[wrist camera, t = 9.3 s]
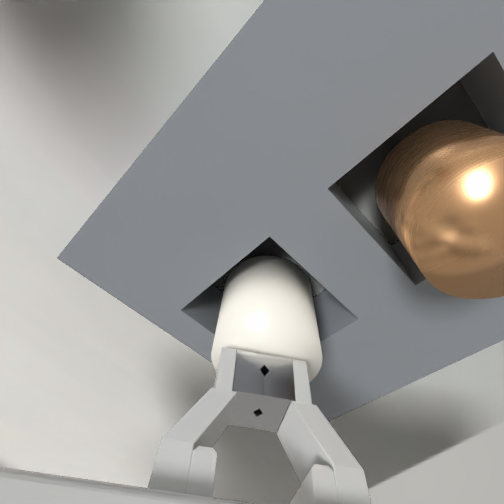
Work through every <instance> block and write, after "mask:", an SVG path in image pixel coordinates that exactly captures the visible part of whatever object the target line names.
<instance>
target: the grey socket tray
mask: <svg viewBox="0 0 504 504" xmlns="http://www.w3.org/2000/svg"><path fill="white" fill-rule="evenodd" d="M458 80H460V82H461V84H462V85H463V87H464V89H465V90H466V92H467V94H468V95H469V97H470V98H471V100H472V102H473V103H474V105H475V107H476V108H477V110H478V112H479V113H480V115H481V117H482V118H483V120H484V121H485V123H486V125H487V126H488V128H489V129H491V130H494V131H496V132H499V133H502V134H504V0H264V1H263V3H262V4H261V5H260V6H259V8H258V9H257V10H256V11H255V13H254V14H253V15H252V16H251V18H250V19H249V20H248V21H247V23H246V24H245V25H244V26H243V28H242V29H241V30H240V31H239V33H238V34H237V35H236V36H235V37H234V39H233V40H232V41H231V42H230V44H229V45H228V46H227V47H226V49H225V50H224V51H223V52H222V54H221V55H220V56H219V57H218V59H217V60H216V61H215V62H214V64H213V65H212V66H211V67H210V69H209V70H208V71H207V72H206V73H205V75H204V76H203V77H202V78H201V80H200V81H199V82H198V83H197V85H196V86H195V87H194V88H193V90H192V91H191V92H190V93H189V95H188V96H187V97H186V98H185V100H184V101H183V102H182V103H181V105H180V106H179V107H178V108H177V109H176V111H175V112H174V113H173V114H172V116H171V117H170V118H169V119H168V121H167V122H166V123H165V124H164V126H163V127H162V128H161V129H160V131H159V132H158V133H157V134H156V136H155V137H154V138H153V139H152V141H151V142H150V143H149V144H148V146H147V147H146V148H145V149H144V150H143V152H142V153H141V154H140V155H139V157H138V158H137V159H136V160H135V162H134V163H133V164H132V165H131V167H130V168H129V169H128V170H127V172H126V173H125V174H124V175H123V177H122V178H121V179H120V180H119V182H118V183H117V184H116V185H115V186H114V188H113V189H112V190H111V191H110V193H109V194H108V195H107V196H106V198H105V199H104V200H103V201H102V203H101V204H100V205H99V206H98V208H97V209H96V210H95V211H94V213H93V214H92V215H91V216H90V218H89V219H88V220H87V221H86V222H85V224H84V225H83V226H82V227H81V229H80V230H79V231H78V232H77V234H76V235H75V236H74V237H73V239H72V240H71V241H70V242H69V244H68V245H67V246H66V247H65V249H64V250H63V251H62V252H61V254H60V255H59V256H58V257H57V259H59V260H60V261H62V262H63V263H65V264H66V265H68V266H69V267H71V268H72V269H74V270H75V271H77V272H78V273H80V274H81V275H83V276H84V277H86V278H87V279H89V280H90V281H91V282H93V283H94V284H96V285H97V286H99V287H100V288H102V289H103V290H105V291H106V292H108V293H109V294H111V295H112V296H114V297H115V298H117V299H118V300H120V301H121V302H123V303H124V304H126V305H127V306H129V307H130V308H132V309H133V310H134V311H136V312H137V313H139V314H140V315H142V316H143V317H145V318H146V319H148V320H149V321H151V322H152V323H154V324H155V325H157V326H158V327H160V328H161V329H163V330H164V331H166V332H167V333H169V334H170V335H172V336H173V337H175V338H176V339H178V340H179V341H180V342H182V343H183V344H185V345H186V346H188V347H189V348H191V349H192V350H194V351H195V352H197V353H198V354H200V355H201V356H203V357H204V358H206V359H207V360H209V361H210V362H212V360H211V352H212V347H213V342H214V337H215V332H216V327H217V322H218V317H219V312H220V307H221V302H222V297H223V292H222V291H221V290H220V289H219V288H217V287H216V286H215V285H213V283H214V282H215V281H216V280H218V279H219V278H220V277H221V276H222V275H224V274H225V273H226V272H227V271H228V270H230V269H231V268H232V267H233V266H235V265H236V264H237V263H238V262H239V261H241V260H242V259H243V258H244V257H245V256H247V255H248V254H249V253H250V252H251V251H253V250H254V249H255V248H256V247H258V246H259V245H260V244H261V243H262V242H264V241H265V240H266V239H267V238H268V237H271V238H272V239H273V240H274V241H275V242H276V243H277V244H278V245H279V246H280V247H282V248H283V249H284V250H285V251H286V252H287V253H288V254H289V255H290V256H291V257H292V258H293V259H295V260H296V261H297V262H298V263H299V264H300V265H301V266H302V267H303V268H304V269H305V270H306V271H307V272H309V273H310V274H311V275H312V276H313V277H314V278H315V279H316V280H317V281H318V282H319V283H320V284H321V285H323V286H324V287H325V288H326V290H324V291H323V292H321V293H320V294H318V295H317V296H315V297H314V298H313V302H314V308H315V314H316V320H317V326H318V332H319V338H320V344H321V350H322V365H321V368H320V370H319V372H318V374H317V375H316V377H315V378H314V379H313V380H312V381H310V382H309V384H310V391H311V399H312V404H313V405H317V407H318V408H319V409H320V411H321V412H322V414H323V415H324V416H325V418H326V419H327V420H328V421H330V420H332V419H334V418H336V417H339V416H341V415H343V414H345V413H347V412H349V411H352V410H354V409H356V408H358V407H360V406H362V405H364V404H367V403H369V402H371V401H373V400H375V399H377V398H380V397H382V396H384V395H386V394H388V393H390V392H392V391H395V390H397V389H399V388H401V387H403V386H405V385H408V384H410V383H412V382H414V381H416V380H418V379H420V378H423V377H425V376H427V375H429V374H431V373H433V372H436V371H438V370H440V369H442V368H444V367H446V366H448V365H451V364H453V363H455V362H457V361H459V360H461V359H464V358H466V357H468V356H470V355H472V354H474V353H476V352H479V351H481V350H483V349H485V348H487V347H489V346H492V345H494V344H496V343H498V342H500V341H502V340H504V296H502V297H497V298H490V299H464V298H459V297H455V296H452V295H449V294H446V293H444V292H442V291H440V290H438V289H437V288H436V287H434V286H433V285H432V284H431V283H430V282H429V281H428V280H427V279H426V278H425V276H424V275H423V274H422V272H421V271H420V269H419V268H418V266H417V265H416V263H415V262H414V260H413V259H412V257H411V256H410V254H409V253H408V251H407V250H406V249H405V247H404V246H403V244H402V243H401V241H400V240H399V241H397V242H396V243H394V244H393V245H390V244H389V243H388V242H387V240H386V239H385V238H384V237H383V236H382V235H381V234H380V233H379V231H378V230H377V229H376V228H375V227H374V226H373V225H372V224H371V223H370V221H369V220H368V219H367V218H366V217H365V216H364V215H363V214H362V212H361V211H360V210H359V209H358V208H357V207H356V206H355V205H354V203H353V202H352V201H351V200H350V199H349V198H348V197H347V196H346V195H345V193H344V192H343V191H342V190H341V189H340V188H339V187H338V186H337V184H336V183H335V182H336V181H337V180H339V179H340V178H341V177H342V176H343V175H345V174H346V173H347V172H348V171H349V170H351V169H352V168H353V167H354V166H355V165H357V164H358V163H359V162H360V161H362V160H363V159H364V158H365V157H366V156H368V155H369V154H370V153H371V152H372V151H374V150H375V149H376V148H377V147H378V146H380V145H381V144H382V143H383V142H385V141H386V140H387V139H388V138H389V137H391V136H392V135H393V134H394V133H395V132H397V131H398V130H399V129H400V128H401V127H403V126H404V125H405V124H406V123H407V122H409V121H410V120H411V119H412V118H414V117H415V116H416V115H417V114H418V113H420V112H421V111H422V110H423V109H424V108H426V107H427V106H428V105H429V104H430V103H432V102H433V101H434V100H435V99H437V98H438V97H439V96H440V95H441V94H443V93H444V92H445V91H446V90H447V89H449V88H450V87H451V86H452V85H453V84H455V83H456V82H457V81H458Z"/></svg>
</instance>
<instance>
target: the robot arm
mask: <svg viewBox="0 0 504 504" xmlns="http://www.w3.org/2000/svg"><path fill="white" fill-rule="evenodd" d="M228 425H232V426H240V427H247V428H254V429H259V430H265V431H270V432H275V433H277V436H278V438H279V440H280V442H281V444H282V446H283V448H284V450H285V452H286V454H287V456H288V458H289V460H290V462H291V464H292V466H293V468H294V471H295V473H296V475H297V477H298V479H299V481H300V483H301V486H300V487H299V489H298V491H297V492H296V494H295V495H294V497H293V499H292V500H291V502H290V503H289V504H371V500H370V495H369V491H368V486H367V482H366V478H365V473H364V470H363V469H362V467H361V466H360V464H359V463H358V462H357V460H356V459H355V458H354V456H353V455H352V453H351V452H350V451H349V449H348V448H347V447H346V445H345V444H344V442H343V441H342V440H341V438H340V437H339V436H338V434H337V433H336V431H335V430H334V429H333V427H332V426H331V425H330V423H329V422H328V420H327V419H326V418H325V416H324V415H323V414H322V412H321V411H320V409H319V408H318V407H317V405H313V404H312V399H311V391H310V384H309V376H308V368H307V363H306V362H305V361H300V360H294V359H289V358H283V357H277V356H271V355H265V354H264V355H262V354H257V353H253V352H248V351H243V350H238V349H237V350H236V349H232V348H227V347H222V349H221V353H220V358H219V362H218V367H217V371H216V376H215V381H214V387H213V388H210V389H209V390H208V391H207V392H206V393H205V394H204V395H203V396H202V397H201V398H200V400H199V401H198V402H197V403H196V404H195V405H194V406H193V407H192V408H191V409H190V410H189V411H188V412H187V413H186V414H185V415H184V416H183V417H182V418H181V419H180V420H179V421H178V422H177V423H176V424H175V425H174V426H173V427H172V428H171V429H170V431H169V432H168V433H167V434H166V435H165V436H164V437H163V438H162V439H161V443H160V446H159V450H158V454H157V457H156V461H155V464H154V468H153V471H152V475H151V478H150V482H149V485H148V488H143V487H136V486H129V485H122V484H115V483H108V482H101V481H95V480H88V479H81V478H74V477H67V476H60V475H53V474H46V473H39V472H32V471H25V470H18V469H11V468H4V467H0V504H254V503H247V502H240V501H233V500H227V499H220V498H213V497H212V493H213V485H214V477H215V468H216V460H217V452H216V451H215V450H214V449H213V448H212V447H213V445H214V444H215V443H216V441H217V440H218V439H219V437H220V436H221V435H222V433H223V432H224V430H225V429H226V428H227V426H228Z"/></svg>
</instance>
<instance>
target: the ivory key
mask: <svg viewBox="0 0 504 504" xmlns="http://www.w3.org/2000/svg"><path fill="white" fill-rule="evenodd" d="M222 347H227V348H232V349H236V350H237V349H238V350H243V351H248V352H253V353H257V354H262V355H264V354H265V355H271V356H277V357H283V358H289V359H294V360H300V361H305V362H306V363H307V368H308V376H309V382H310V381H312V380H313V379H314V378H315V377H316V375H317V374H318V372H319V370H320V368H321V365H322V350H321V344H320V338H319V332H318V326H317V320H316V314H315V308H314V302H313V296H312V290H311V284H310V281H309V279H308V277H307V275H306V274H305V272H304V271H303V270H302V269H301V268H300V267H299V266H298V265H296V264H295V263H293V262H291V261H289V260H287V259H284V258H281V257H276V256H258V257H254V258H250V259H248V260H245V261H243V262H241V263H240V264H238V265H237V266H236V267H235V268H234V269H233V270H232V271H231V272H230V273H229V275H228V277H227V279H226V282H225V287H224V292H223V297H222V302H221V307H220V312H219V317H218V322H217V327H216V332H215V337H214V342H213V347H212V352H211V360H212V364H213V366H214V368H215V370H216V371H217V367H218V362H219V358H220V353H221V349H222Z"/></svg>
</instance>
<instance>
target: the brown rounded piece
mask: <svg viewBox="0 0 504 504" xmlns="http://www.w3.org/2000/svg"><path fill="white" fill-rule="evenodd" d="M375 196H376V202H377V205H378V208H379V210H380V212H381V213H382V215H383V216H384V218H385V219H386V221H387V222H388V224H389V225H390V226H391V228H392V229H393V231H394V232H395V234H396V235H397V237H398V238H399V240H400V241H401V243H402V244H403V246H404V247H405V249H406V250H407V251H408V253H409V254H410V256H411V257H412V259H413V260H414V262H415V263H416V265H417V266H418V268H419V269H420V271H421V272H422V274H423V275H424V276H425V278H426V279H427V280H428V281H429V282H430V283H431V284H432V285H433V286H434V287H436V288H437V289H438V290H440V291H442V292H444V293H446V294H449V295H452V296H455V297H459V298H464V299H490V298H497V297H502V296H504V134H502V133H499V132H496V131H494V130H491V129H488V128H485V127H482V126H479V125H477V124H474V123H471V122H467V121H463V120H444V121H439V122H435V123H431V124H428V125H426V126H423V127H421V128H419V129H417V130H415V131H414V132H412V133H410V134H409V135H408V136H406V137H405V138H404V139H402V140H401V141H400V142H399V143H398V144H397V145H396V146H395V147H394V148H393V149H392V150H391V151H390V153H389V154H388V156H387V157H386V158H385V160H384V162H383V164H382V166H381V168H380V170H379V173H378V176H377V180H376V186H375Z"/></svg>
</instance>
